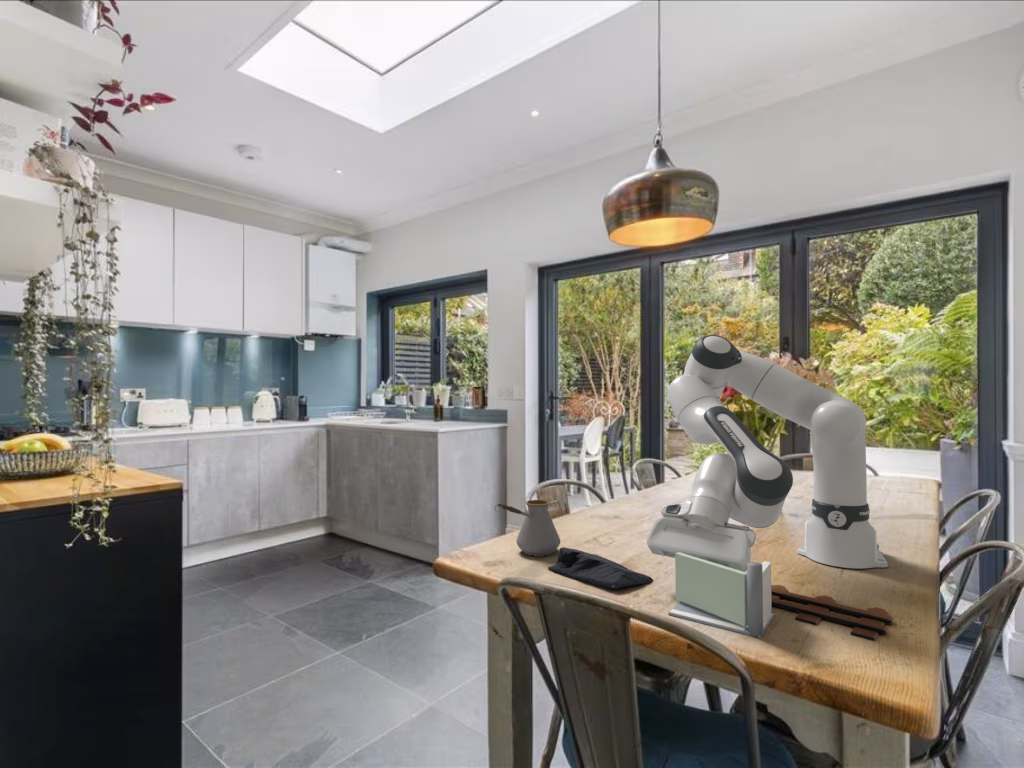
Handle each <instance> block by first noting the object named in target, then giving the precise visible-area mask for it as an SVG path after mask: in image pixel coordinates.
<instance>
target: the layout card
mask: <svg viewBox="0 0 1024 768" xmlns="http://www.w3.org/2000/svg"><path fill="white" fill-rule="evenodd" d="M668 616H673V617H677V618H679V619H684V620H688V621H692V622H696V623H699V624H700V623H701V624H703V625H708V626H712V627H716V628H719V629H722V630H723V629H724V630H727V631H731V632H736V633H738V634H743V635H747V636H750V633H749V632H748V625H747V626H742V625H740V624H737V623H735V622H732V621H730V620H727V619H724V618H722V617H719V616H717V615H714V614H712V613H709V612H707V611H704V610H702V609H699V608H697V607H694V606H692V605H689V604H686V603H684V602H681V601H679V602H678V604H676V605H675V606H674V607H672V609H671V610H669V611H668ZM774 617H775V613H773V612H771V613H770V614H769V616H768V617H767V619H766V620H765V622H764V623H763V634H764V633H765V632H766V630H767V629H768V626H769V625H770V623H771V622H772V620H773V619H774ZM757 638H758V639H761V638H762V637H761V635H758V637H757Z"/></svg>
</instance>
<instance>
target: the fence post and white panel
mask: <svg viewBox="0 0 1024 768" xmlns="http://www.w3.org/2000/svg"><path fill="white" fill-rule="evenodd" d="M746 573H747V600H748V632H749V633H750V635H749V636H750V637H753V638H758V635H761V638H763V637H764V633H763V623H764V622H765V620H766V619H767V617H768V616H769V614H770V613H772V603H771V585H772V562H770V561H764V560H763V562H762V563H760V562H757V561H756V562H755V561H750V562H748V563H747V570H746Z"/></svg>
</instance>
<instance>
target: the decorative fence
mask: <svg viewBox="0 0 1024 768" xmlns="http://www.w3.org/2000/svg"><path fill="white" fill-rule="evenodd" d="M783 599H784V600H783ZM785 599H786V600H785ZM787 600H790V601H794V602H798V603H802V604H806V605H802V604H797V603H794V602H790V601H787ZM771 603H772V606H773V607H776V608H780V609H785V610H788V611H792V612H797V613H798V614H797V615H796V616H795V621H798V622H801V623H805V624H808V625H809V624H810V625H813V626H817V625H819V623H820V622H821V621H822V620H827V621H830V622H835V623H839V624H842V625H846V626H850V627H853V628H852V630H851V631H850V635H851V636H853V637H858V638H862V639H865V640H868V641H872V642H875V641H876V640H877V638H878V637H879V635H880V634H881V635H887V633H888V631H889V627H888V626H887V625H886V624H888V625H892V624H893V623H894V620H895V617H893V616H891V615H890V613H889V612H888V611H887V610H886V609H885V608H881V607H869V608H867V609H866V610H865V609H862V608H859V607H858V608H857V607H854V606H849V605H846V604H841V603H838V602H837V601H836V600H835V599H834V598H833V597H832V596H829V595H817V596H815V597H811V596H807V595H803V594H800V593H799V594H798V593H794V592H789V590H788V588H787V587H786V586H785V585H781V584H774V585H773V584H771ZM831 611H834V612H831ZM835 612H838V613H835ZM839 613H842V614H846V615H851V616H855V617H859V619H858V618H854V617H850V616H846V615H842V614H839ZM877 636H878V637H877Z"/></svg>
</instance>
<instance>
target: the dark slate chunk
mask: <svg viewBox="0 0 1024 768" xmlns="http://www.w3.org/2000/svg"><path fill="white" fill-rule="evenodd" d="M547 568H548V570H549V569H551V570H552V571H551V570H550V571H551V572H556V571H557V572H556V573H559V574H560V573H561V575H563V576H565V575H567V576H566V577H568V578H572V577H573V578H575V580H581V581H583V582H585V583H588V584H591V585H594V586H598V587H600V588H604V589H609V588H610V590H617V589H621V588H627V587H633V586H639V585H640V584H641V585H647V584H649V583H651V582H652V581H651V580H653V581H654V579H653V578H652V577H651V576H649V575H647V574H644V573H641V572H637V571H635V570H631V569H629V568H627V567H626V566H624V565H622V564H619V563H618V562H615V561H613V560H610V559H608V558H606V557H603V556H600V555H598V554H595V553H594V554H593V553H589V552H585V551H584V550H579V549H575V548H570V547H565V546H564V547H560V548H559V552H558V557H557V560H556V563H555V564H554V565H550V566H548V567H547ZM573 578H572V579H573Z"/></svg>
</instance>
